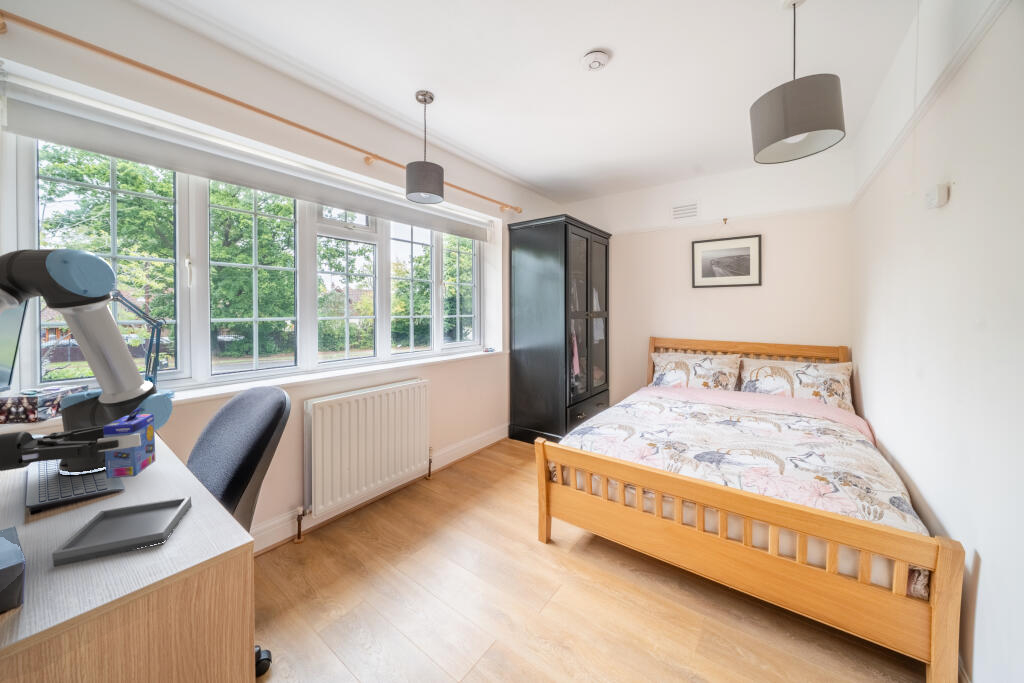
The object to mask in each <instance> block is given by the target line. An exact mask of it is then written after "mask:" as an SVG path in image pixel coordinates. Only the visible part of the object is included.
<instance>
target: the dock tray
mask: <svg viewBox="0 0 1024 683" xmlns="http://www.w3.org/2000/svg"><path fill="white" fill-rule="evenodd" d="M189 508H190V509H191V508H192V496H191V495H190V496H183V497H177V498H172V499H166V500H159V501H154V502H149V503H141V504H135V505H130V506H124V507H119V508H118V507H117V508H111V509H106V510H101V511H100V512H98V513H97V514H96V515H95V516H93V518H91V519H90V520H89V521H88V522H87V523H86V524H84V525H83V526H82V527H80V529H79V530H77V532H75V533H74V534H73V535H72V536H71V537H70V538H68V539H67V540H66V541H65V542H64V543H63V544H62V545H60V547H58V548H57V549H56V550H55V551H53V552H52V554H51V555H52V562H53V567H57V566H62V565H67V564H72V563H78V562H81V561H87V560H92V559H97V558H102V557H105V556H106V557H107V556H111V555H116V554H121V552H122V553H125V551H126V552H131V551H134V550H133V549H136V550H138V549H137V548H141V547H145V546H150V545H154V544H158V543H162V542H164V541H165V540H166V539H167V538H168V536H169V535H170V533H171V532H172V531H173V529H174V528H175V527H176V525H177V524H178V523H179V521H180V520H181V519H182V517H183V516H184V515H185V516H186V514H187V513H188V512H187V511H189V510H190V509H189ZM188 509H189V510H188ZM186 512H187V513H186ZM185 513H186V514H185ZM185 516H184V517H185ZM184 517H183V518H184ZM182 520H183V519H182ZM182 520H181V521H182ZM181 521H180V522H181ZM179 524H180V523H179ZM179 524H178V525H179ZM178 525H177V526H178ZM176 528H177V527H176ZM176 528H175V529H176ZM173 532H174V531H173ZM173 532H172V533H173ZM170 536H171V535H170ZM170 536H169V537H170ZM168 539H169V538H168ZM168 539H167V540H168ZM141 549H142V548H141ZM130 550H131V551H130Z"/></svg>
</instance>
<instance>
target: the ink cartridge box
mask: <svg viewBox="0 0 1024 683" xmlns="http://www.w3.org/2000/svg"><path fill="white" fill-rule="evenodd" d="M140 409H141V407H140V408H138V409H136V410H134V411H132V413H131V414H130V415H128V416H124V417H122V418H120V419H119V420H117V421H113V422H112V423H110V424H108V425H106V426H104V427H103V432H104V438H109V437H116V436H124V435H131V434H138V433H140V440H141V445H140V446H136V447H129V448H123V449H116V450H109V451H105V462H106V470H105V474H106V479H107V480H108V479H118V478H127V477H128V478H129V477H136V476H137V475H139V474H140V473H141V472H144V470H145V469H146V468H149V466H151V465H152V464H153V463H155V462H156V439H155V437H156V436H155V431H154V414H139V415H137V414H138V413H139V411H140ZM136 411H137V412H136ZM135 412H136V413H135ZM133 413H135V414H133ZM132 414H133V415H132Z"/></svg>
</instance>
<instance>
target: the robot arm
mask: <svg viewBox="0 0 1024 683" xmlns="http://www.w3.org/2000/svg"><path fill="white" fill-rule="evenodd" d="M116 283H117V277H116V272H115V271H114V269H113V268H112V266H111V265H110V263H108V262H107V261H106V260H105V259H104V258H102V256H101V257H100V256H99V255H97V254H95V253H93V252H90V251H87V250H82V249H80V250H79V249H72V248H71V249H69V248H58V249H57V248H55V249H54V248H51V249H47V248H46V249H29V248H28V249H18V250H15V251H9V252H7V253H5V254H2V255H0V315H2V314H3V312H5V311H6V310H14V309H16V308H18V307H19V306H20V305H22V303H24V302H26V301H28V300H30V299H32V298H33V299H34V298H36V297H42V298H43V300H44V302H45V304H46V306H47V307H48V309H49V310H53V311H55V312H58V313H60V314H61V315H62V317H63V319H64V321H65V323H66V325H67V326H68V328H69V331H70V332H71V334H72V336H73V338H74V340H75V342H76V344H77V345H78V348H79V349H80V351H81V353H82V355H83V358H84V359H85V361H86V362H87V365H88V366H89V368H90V370H91V372H92V374H93V376H94V379H96V382H97V384H98V385H99V387H100V389H93V390H88V391H87V390H86V391H81V392H77V393H76V392H75V393H71V394H68V395H65V396H63V397H62V398H61V400H60V409H59V411H60V414H61V415H60V416H61V421H62V428H63V431H59V432H52V433H50V434H47V435H43V436H42V438H41V437H40V438H34V437H33V435H32V434H31V433H30V432H28V431H16V432H8V433H1V434H0V472H4V471H9V470H17V469H23V468H26V467H28V466H30V464H31V463H36V462H37V463H38V462H46V461H47V462H48V461H57V460H60V462H59V464H58V470H59V469H60V470H62V471H68V472H83V471H90V470H94V469H98V468H103V467H106V462H105V451H109V450H116V449H123V448H129V447H136V446H140V445H141V440H140V433H138V434H131V435H124V436H116V437H109V438H104V432H103V427H104V426H106V425H108V424H110V423H112V422H113V421H117V420H119V419H120V418H122V417H124V416H128V415H130V414H131V413H132V411H134V410H136V409H138V408H140V407H141V409H140V411H139V413H138V414H137V415H139V414H154V432H156V431H158V430H160V429H161V428H163V427H164V426H165V425H166V424H167V423H168V421H169V420H170V417H171V415H172V413H173V410H174V409H173V408H174V405H173V401H172V399H171V397H170V396H168V395H167V394H164V393H161V392H160V393H159V392H157V391H156V389H155V386H154V384H153V383H152V381H148V380H144V379H143V376H142V374H141V372H140V370H139V369H138V365H137V364H136V362H135V360H134V358H133V356H132V353H131V351H130V349H129V346H128V345H127V343H126V341H125V339H124V336H123V334H122V332H121V330H120V328H119V326H118V324H117V321H116V319H115V317H114V315H113V314H112V310H111V308H110V306H109V305H108V304H109V303H110V301H112V299H113V295H112V293H111V292H112V291H113V290H114V288H115V284H116ZM136 412H137V411H136ZM136 412H135V413H136ZM135 413H133V414H135ZM133 414H132V415H133Z"/></svg>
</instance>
